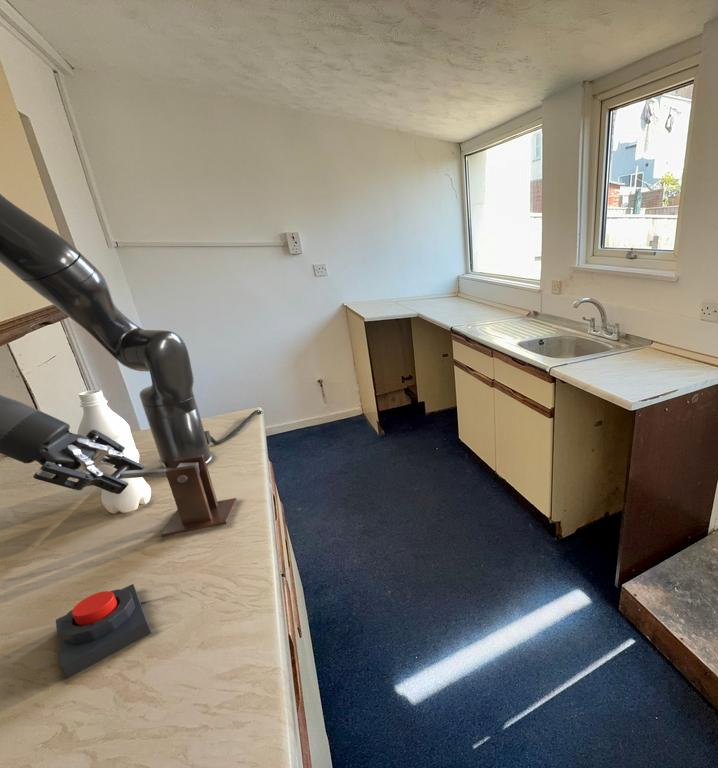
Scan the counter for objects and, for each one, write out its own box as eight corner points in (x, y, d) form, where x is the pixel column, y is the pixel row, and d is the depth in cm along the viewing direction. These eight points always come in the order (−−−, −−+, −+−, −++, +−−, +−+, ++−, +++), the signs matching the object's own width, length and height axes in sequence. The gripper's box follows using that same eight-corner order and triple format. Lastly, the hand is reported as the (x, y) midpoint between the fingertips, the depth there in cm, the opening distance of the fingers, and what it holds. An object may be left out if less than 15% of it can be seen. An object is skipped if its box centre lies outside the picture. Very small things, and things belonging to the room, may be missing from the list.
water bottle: (125, 520, 77) (81, 400, 69) (97, 515, 78) (50, 397, 70) (163, 498, 84) (126, 387, 76) (136, 494, 85) (97, 385, 77)
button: (74, 614, 53) (70, 604, 53) (115, 595, 56) (111, 586, 56) (77, 631, 51) (72, 621, 50) (119, 611, 54) (115, 601, 53)
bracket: (162, 539, 72) (141, 479, 68) (179, 513, 79) (161, 457, 75) (227, 526, 76) (210, 468, 71) (237, 502, 83) (223, 448, 78)
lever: (105, 489, 68) (103, 476, 67) (121, 473, 72) (119, 462, 72) (192, 483, 72) (191, 471, 72) (202, 469, 77) (201, 458, 76)
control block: (61, 631, 55) (50, 609, 54) (137, 594, 61) (129, 574, 59) (67, 679, 49) (55, 656, 48) (151, 633, 55) (142, 611, 53)
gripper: (-5, 430, 57) (127, 486, 65) (60, 396, 69) (163, 446, 77) (-41, 469, 57) (96, 520, 65) (31, 428, 69) (137, 474, 77)
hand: (132, 479), depth 71 cm, fingers closed on lever, 5 cm apart
